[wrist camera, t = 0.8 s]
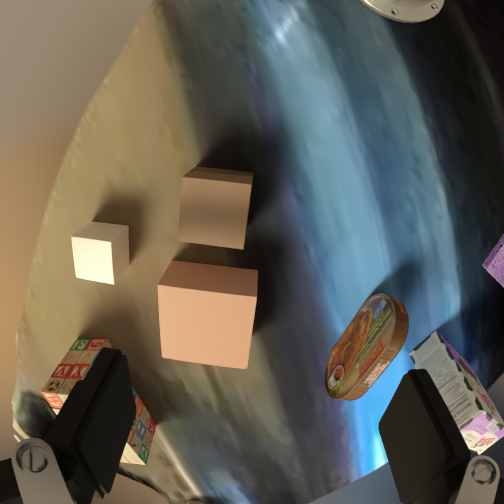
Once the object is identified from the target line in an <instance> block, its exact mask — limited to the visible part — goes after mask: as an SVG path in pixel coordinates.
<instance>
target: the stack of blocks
mask: <svg viewBox="0 0 504 504" xmlns="http://www.w3.org/2000/svg"><path fill="white" fill-rule="evenodd" d="M103 347H108V348H112V346H111V344H110V342H109V340H108V339H107V338H96V339H77V340H76V341H75V342H74V344H73V345H72V347H71V348H70V349H69V352H68V353H67V354H66V355H65V357H64V358H63V360H62V361H61V363H60V364H59V365H58V366H57V368H56V369H55V371H54V372H53V374H52V375H51V377H50V379H49V381H48V382H47V383H46V385H45V386H44V388H43V389H42V391H41V393H42V394H43V395H44V397H45V398H46V399H47V401H48V402H49V404H50V405H51V406H52V407H53V410H54V412H55V413H56V414H57V415H58V413H59V411H60V409H61V407H62V406H63V404H64V402H65V400H66V399H67V397H68V395H69V393H70V392H71V390H72V388H73V386H74V385H75V383H76V382H77V381H78V380H83V379H84V378H85V376H86V374H87V373H88V371H89V369H90V367H91V366H92V364H93V362H94V361H95V359H96V357H97V356H98V354H99V352H100V351H101V349H102V348H103ZM132 389H133V394H134V399H135V403H136V409H137V411H136V417H135V420H134V423H133V425H132V428H131V431H130V434H129V437H128V440H127V443H126V446H125V449H124V451H123V454H122V457H121V460H120V462H125V463H134V464H143V465H146V463H147V459H148V456H149V452H150V451H149V450H150V447H151V443H152V440H153V435H154V432H155V429H156V424H155V423H154V421H153V420H152V418H151V417H150V414H149V413H148V411H147V409H146V408H145V406H144V405H143V403H142V401H141V399H140V398H139V396H138V394H137V393H136V391H135V390H134V388H133V386H132Z"/></svg>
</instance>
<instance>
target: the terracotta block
mask: <svg viewBox="0 0 504 504" xmlns="http://www.w3.org/2000/svg"><path fill="white" fill-rule="evenodd" d="M257 284H258V270H251V269H243V268H234V267H225V266H217V265H208V264H200V263H191V262H183V261H175V260H172V261H171V263H170V264H169V266H168V268H167V269H166V271H165V273H164V275H163V276H162V278H161V280H160V282H159V283H158V303H159V321H160V336H161V349H162V357H163V358H169V359H175V360H181V361H187V362H194V363H201V364H208V365H216V366H224V367H232V368H241V369H247V364H248V357H249V350H250V343H251V336H252V329H253V322H254V315H255V308H256V301H257Z"/></svg>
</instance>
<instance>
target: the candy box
mask: <svg viewBox="0 0 504 504" xmlns="http://www.w3.org/2000/svg"><path fill="white" fill-rule="evenodd" d="M409 355H410V357H411V359H412V361H413V363H414V365H415V367H416V369H426V370H427V371H428V373H429V375H430V376H431V378H432V380H433V382H434V383H435V385H436V387H437V389H438V391H439V392H440V394H441V396H442V398H443V400H444V401H445V403H446V405H447V407H448V409H449V411H450V413H451V415H452V416H453V418H454V420H455V422H456V424H457V426H458V428H459V430H460V432H461V434H462V436H463V438H464V440H465V442H466V444H467V446H468V448H469V449H470V450H472V451H474V452H476V453H478V454H481V453H482V452H483V451H485V450H486V449H487V448H489V447H490V446H492V445H493V444H494V443H495V442H497V441H498V440H499V439H500V438H502V437H503V436H504V422H503V420H502V418H501V417H500V415H499V413H498V411H497V410H496V408H495V406H494V405H493V403H492V401H491V400H490V398H489V396H488V394H487V393H486V391H485V389H484V388H483V386H482V384H481V383H480V381H479V379H478V378H477V376H476V374H475V373H474V371H473V370H472V368H471V366H470V365H469V363H468V362H467V361H466V360H465V359H464V358H463V357H462V356H461V355H460V354H459V353H458V351H457V350H456V349H455V348H454V347H453V346H452V345H451V344H450V343H449V342H448V341H447V340H446V339H445V338H444V337H443V336H442V335H441V334H440V333H439V332H438V331H437V330H436V331H434V332H433V333H432V334H431V335H430V336H429V337H427V338H426V339H425V340H424V341H423V342H422V343H421V344H419V345H418V346H417V347H416V348H415V349H413V350H412V351H411V352H410V353H409Z"/></svg>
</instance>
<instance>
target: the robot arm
mask: <svg viewBox="0 0 504 504" xmlns="http://www.w3.org/2000/svg"><path fill="white" fill-rule="evenodd" d="M359 1H361V2H362V3H363V4H364V5H365V6H367V7H368V8H370V9H371V10H372V11H374V12H376V13H378V14H380V15H382V16H383V17H386V18H389V19H391V20H394V21H399V22H403V23H418V22H423V21H425V20H428V19H430V18H432V17H434V16H435V15H436V14H437V13H439V11H440V10H441V8H442V6H443V4H444V0H359ZM392 12H393V14H392ZM136 411H137V409H136V403H135V399H134V394H133V389H132V384H131V379H130V374H129V369H128V364H127V358H126V356H125V355H122V353H121V351H120V350H118V349H113V348H108V347H103V348H102V349H101V351H100V352H99V354H98V356H97V357H96V359H95V361H94V362H93V364H92V366H91V367H90V369H89V371H88V373H87V374H86V376H85V378H84V379H83V380H78V381H77V382H76V383H75V385H74V386H73V388H72V390H71V392H70V393H69V395H68V397H67V399H66V400H65V402H64V404H63V406H62V407H61V409H60V411H59V413H58V415H57V416H56V418H55V420H54V422H53V424H52V426H51V427H50V429H49V431H48V433H47V435H46V437H45V439H44V441H42V440H40V439H36V438H29V439H25V440H22V441H21V442H19V443H18V444H17V445H16V446H15V448H14V449H13V452H12V456H11V457H12V458H9V459H6V460H2V461H0V504H91V501H92V498H93V496H94V497H97V498H100V499H103V497H104V494H105V493H109V492H110V491H111V488H112V485H113V482H114V478H115V476H116V473H117V470H118V466H119V463H120V460H121V457H122V454H123V451H124V449H125V446H126V443H127V440H128V437H129V434H130V431H131V428H132V425H133V423H134V420H135V417H136ZM379 432H380V435H381V439H382V442H383V445H384V448H385V451H386V454H387V458H388V461H389V464H390V467H391V471H392V474H393V477H394V481H395V484H396V488H397V491H398V494H399V498H400V501H401V502H402V503H404V504H504V479H502V478H500V477H499V476H500V471H499V467H498V465H497V464H496V462H495V461H494V460H493V459H491V458H489V457H488V456H476V457H474V458H473V459H471V457H470V455H471V452H470V450H469V448H468V446H467V444H466V442H465V440H464V438H463V436H462V434H461V432H460V430H459V428H458V426H457V424H456V422H455V420H454V418H453V416H452V415H451V413H450V411H449V409H448V407H447V405H446V403H445V401H444V400H443V398H442V396H441V394H440V392H439V391H438V389H437V387H436V385H435V383H434V382H433V380H432V378H431V376H430V375H429V373H428V371H427V370H426V369H411V370H409V371H408V373H407V374H405V375H404V376H403V378H402V380H401V382H400V384H399V386H398V388H397V390H396V392H395V394H394V396H393V398H392V400H391V401H390V403H389V405H388V407H387V409H386V411H385V413H384V414H383V416H382V418H381V420H380V422H379Z"/></svg>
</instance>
